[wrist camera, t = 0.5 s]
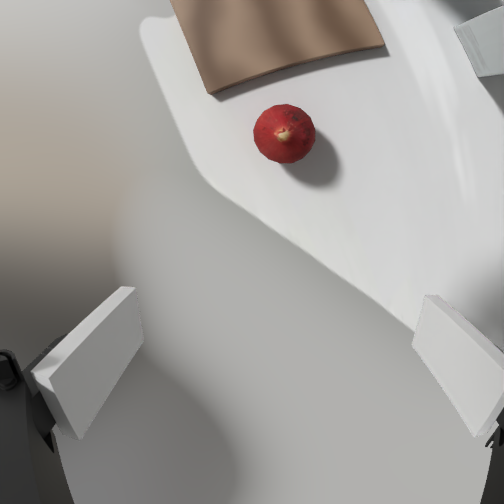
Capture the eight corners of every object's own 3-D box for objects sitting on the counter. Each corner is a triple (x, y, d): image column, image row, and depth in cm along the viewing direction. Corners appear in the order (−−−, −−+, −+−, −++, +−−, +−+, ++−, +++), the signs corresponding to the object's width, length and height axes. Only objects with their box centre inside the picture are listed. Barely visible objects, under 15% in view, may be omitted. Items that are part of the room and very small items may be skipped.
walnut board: (331, -43, 18) (333, -48, 17) (380, 47, 23) (384, 44, 22) (174, 3, 23) (169, -1, 22) (211, 94, 28) (207, 93, 27)
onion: (282, 97, 27) (280, 85, 20) (323, 132, 28) (334, 132, 21) (247, 136, 30) (233, 137, 22) (287, 170, 31) (286, 182, 23)
